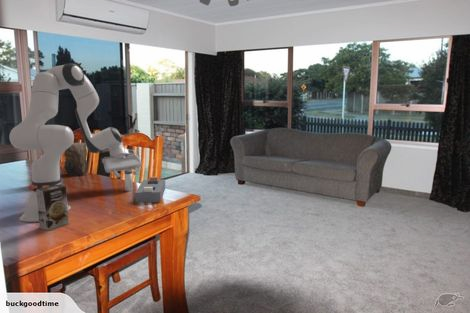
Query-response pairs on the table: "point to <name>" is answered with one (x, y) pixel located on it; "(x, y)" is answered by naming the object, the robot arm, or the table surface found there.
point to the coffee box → (52, 207)
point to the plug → (128, 180)
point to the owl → (76, 159)
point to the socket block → (150, 190)
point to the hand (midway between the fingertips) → (127, 175)
